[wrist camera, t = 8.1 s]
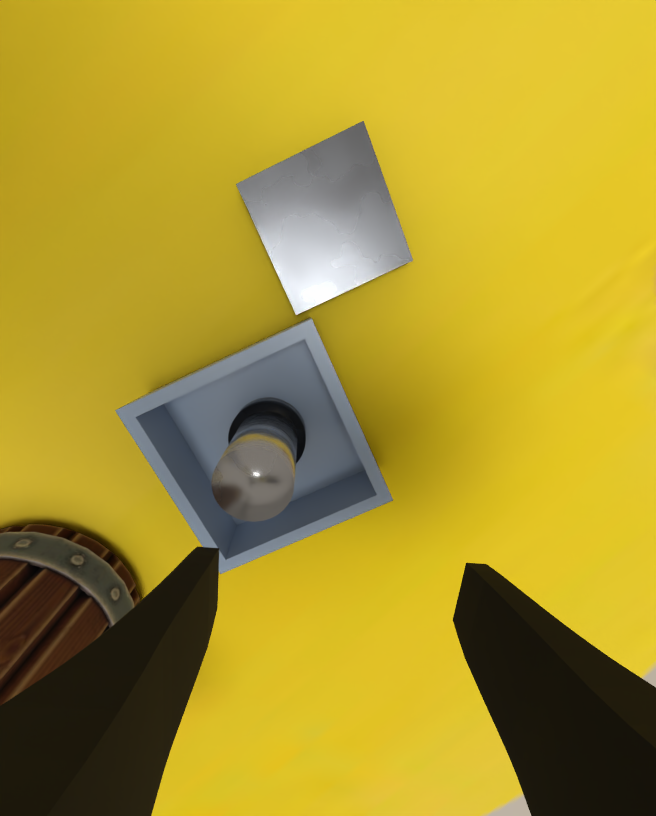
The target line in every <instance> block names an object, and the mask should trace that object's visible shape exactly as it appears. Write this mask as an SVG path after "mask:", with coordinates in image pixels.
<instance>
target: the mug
mask: <svg viewBox="0 0 656 816" xmlns="http://www.w3.org/2000/svg"><path fill="white" fill-rule="evenodd" d="M135 586H136V584H135V582H134V580H133V578H132V576H131V574H130V572H129V571H128V570H127V568H126V567H125V566H124V565H123V563H122V562H121V561H120V560H119V559H118V558H117V556H116V555H115V554H114V553H112V552H111V551H110V550H108V549H107V548H106V547H104V546H103V545H102V544H100V543H99V542H97V541H96V540H94V539H92V538H89V537H87V536H85V535H83V534H81V533H78V532H76V531H72V530H69V529H66V528H62V527H56V526H50V525H38V524H28V525H27V526H26V527H25V526H11V527H7V528H4V529H0V706H1V705H2V704H4V703H5V702H7V701H8V700H10V699H12V698H13V697H15V696H16V695H18V694H19V693H21V692H22V691H24V690H25V689H27V688H28V687H30V686H31V685H33V684H34V683H36V682H37V681H39V680H40V679H42V678H43V677H45V676H46V675H48V674H49V673H51V672H52V671H54V670H55V669H56V668H58V667H59V666H61V665H62V664H64V663H65V662H66V661H68V660H69V659H70V658H72V657H73V656H74V655H76V654H77V653H78V652H80V651H81V650H82V649H84V648H85V647H86V646H88V645H89V644H90V643H92V642H93V641H94V640H96V639H97V638H98V637H99V636H101V635H102V634H103V633H104V632H106V631H107V630H108V629H109V628H110V627H112V626H113V625H114V624H115V623H116V622H117V621H119V620H120V619H121V618H122V617H123V616H124V615H126V614H127V613H128V612H129V611H130V610H131V609H133V608H134V607H135V606H136V605H137V604H138V603H139V602H140V598H139V595H138V593H137V591H136V588H135Z"/></svg>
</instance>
